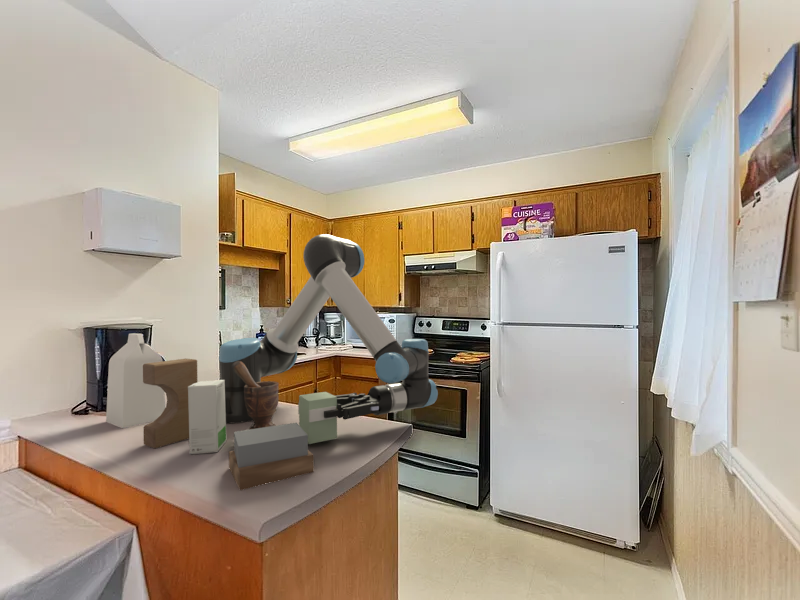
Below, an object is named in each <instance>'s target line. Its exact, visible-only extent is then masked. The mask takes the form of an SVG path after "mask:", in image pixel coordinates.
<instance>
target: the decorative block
mask: <svg viewBox="0 0 800 600" xmlns="http://www.w3.org/2000/svg"><path fill="white" fill-rule="evenodd" d="M197 382H199V381H198V360H197V359H194V358H180V359H179V358H178V359H173V360H172V359H171V360H165V361H164V360H162V362H154V363H146V364H144V365H143V383H145V384H150V385H157V386H159V387H161V388H162V389H163V391H164V392H165V397H166V403H165V409H164V411H163V412H162V414H161V415H160V416H159V417H158V418H157V419H156V420H155V421H153V422H148V423H146V424H145V425H144V426H143V427H142V428H143V445H144V446H146V447H149V448H152V449H158V448H162V447H165V446H166V447H167V446H169V445H172V444H175V443H179V442H182V441H186V440H189V406H188V386H190V385H192V384H194V383H197Z"/></svg>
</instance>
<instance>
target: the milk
mask: <svg viewBox="0 0 800 600" xmlns="http://www.w3.org/2000/svg"><path fill="white" fill-rule="evenodd" d="M162 361H163V358H162V356H161V355H160V354H159V353H158V352H157V351H155V350H154V349H153V348H152V346H150V345H149V344H148V343H145V340H144V336H143V333H128V337H127V342H126V344H124V345H123V346H122V347H121V348H119V349H118V351H116V352H115V353H114V354H113V355H112V356H111V357H110V359H109V362H108V370H107V371H108V373H107V374H108V376H107V396H106V397H107V398H106V412H105V413H106V414H105V415H106V416H105V417H106V418H105V422H106V423H108V424H110V425H113V426H115V427H118V428H121V429H126V428H131V427H135V425H136V426H139V424H140V425H143V424H149V423H151V422H154V421H155V420H156V419H157V418H158V417H159V416H160V415H161V414H162V412H163V411H164V409H165V408H166V393H165V392H164V391H163V389H162V388H161V387H159V386H157V385H150V384H145V383H143V365H144V364H146V363H154V362H162Z"/></svg>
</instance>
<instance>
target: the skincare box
mask: <svg viewBox="0 0 800 600" xmlns="http://www.w3.org/2000/svg"><path fill="white" fill-rule="evenodd" d="M188 406H189V439H188V440H189V441H188V442H189V445H188V446H189V455H200V454H212V453H217V452H219V451H220V450H221V449H222V447H223V445H225V444H226V442H227V423H226V410H225V380H220V379H217V380H215V379H214V380H200V381H198V382H197V383H194V384H192V385H190V386H188Z"/></svg>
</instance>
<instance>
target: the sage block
mask: <svg viewBox="0 0 800 600" xmlns="http://www.w3.org/2000/svg"><path fill="white" fill-rule="evenodd" d="M336 396H337V395H334V394H332V393H330V392H328V391H322V392H313V393H307V394H300V395H299V396H298V403H299V414H298V415H299V417H298V419H299V420H298V422H299V423H298V425H299V426H300V427H301V428H302V429H303V430H304V431H305V433H306V434H307V435H308V445H311V444H315V443H317V444H318V443H321V442H326V441H330V440H336V439H338V418H337V417H336V418H332V419H326V420H321V421H315V422H309V410H312V409H318V408H324V407H331V406H336V409H337V397H336Z"/></svg>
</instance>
